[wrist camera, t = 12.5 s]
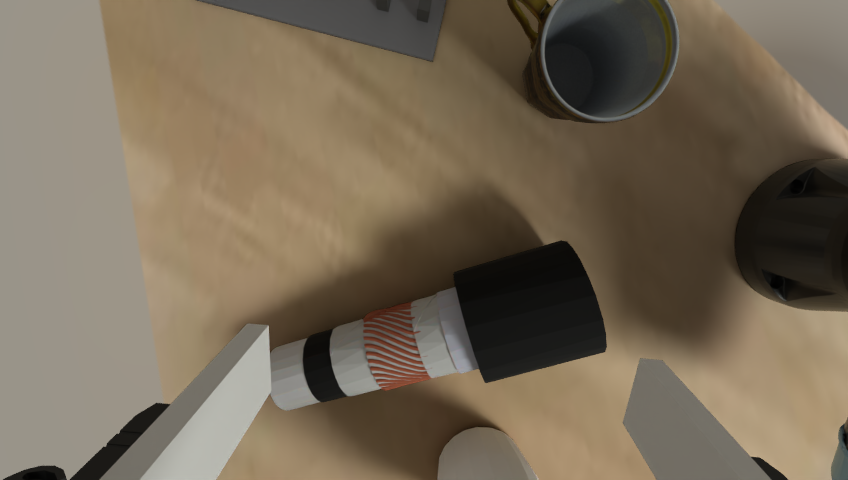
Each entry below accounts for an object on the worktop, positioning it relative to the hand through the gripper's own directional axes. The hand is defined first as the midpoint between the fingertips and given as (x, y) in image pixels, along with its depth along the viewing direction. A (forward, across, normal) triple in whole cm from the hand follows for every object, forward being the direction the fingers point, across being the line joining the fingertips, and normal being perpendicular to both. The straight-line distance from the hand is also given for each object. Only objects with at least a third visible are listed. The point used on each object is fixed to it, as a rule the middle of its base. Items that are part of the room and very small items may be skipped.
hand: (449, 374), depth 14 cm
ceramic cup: (+29, +8, +14) cm, 33 cm away
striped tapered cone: (+25, -3, -12) cm, 28 cm away
